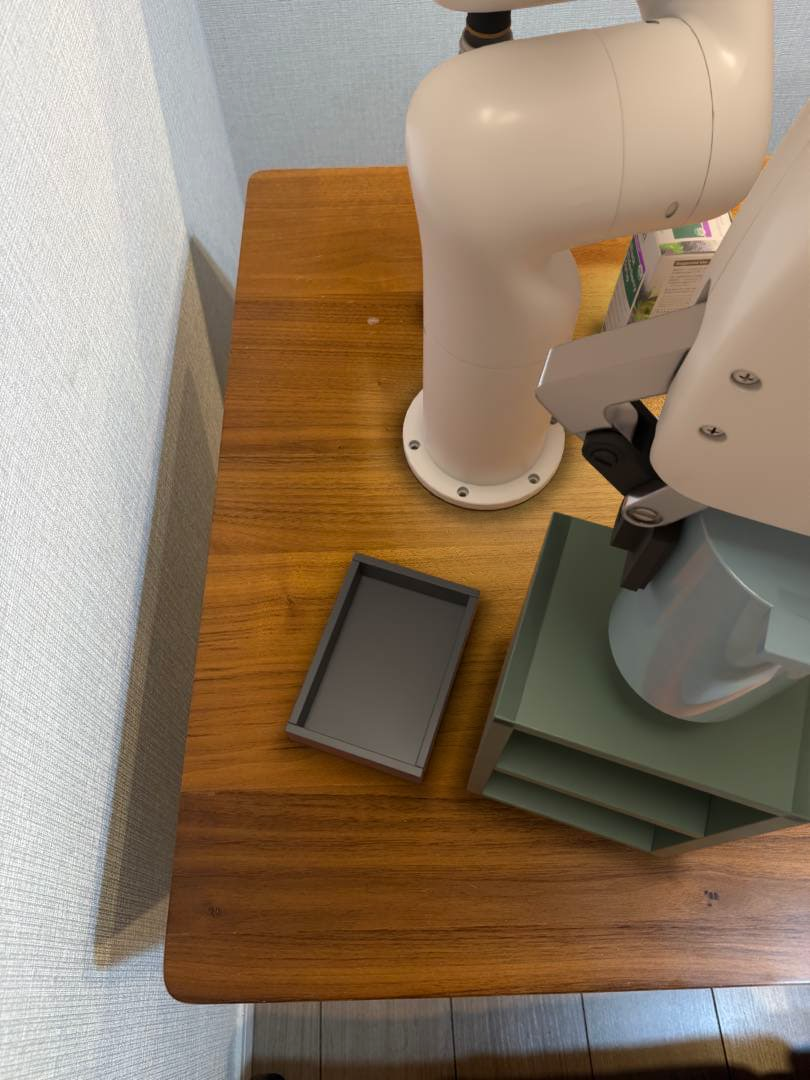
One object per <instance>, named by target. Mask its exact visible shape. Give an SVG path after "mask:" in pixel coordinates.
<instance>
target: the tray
mask: <svg viewBox="0 0 810 1080" xmlns="http://www.w3.org/2000/svg"><path fill="white" fill-rule="evenodd" d="M481 592H482V591H481V589H478V588H473V587H471V586H468V585H465V584H461V583H459V582H455V581H451V580H448V579H445V578H443V577H438V576H435V575H431V574H428V573H425V572H421V571H419V570H415V569H412V568H409V567H406V566H403V565H398V564H395V563H392V562H389V561H386V560H383V559H379V558H376V557H372V556H369V555H366V554H363V553H360V552H354V554H353V556H352V560H351V562H350V564H349V567H348V570H347V572H346V575H345V577H344V579H343V582H342V584H341V587H340V589H339V592H338V594H337V596H336V599H335V602H334V605H333V606H332V609H331V612H330V614H329V617H328V620H327V622H326V625H325V628H324V630H323V633H322V635H321V637H320V639H319V640H320V641H319V642H318V645H317V647H316V650H315V652H314V655H313V658H312V659H311V662H310V665H309V668H308V671H307V673H306V676H305V678H304V680H303V683H302V686H301V687H300V690H299V693H298V696H297V698H296V700H295V704H294V705H293V709H292V711H291V714H290V716H289V718H288V722H287V724H286V725H285V729H284V732H285V733H286V735H287V736H288V738H289V739H290V741H292V742H295V743H298V744H301V745H303V746H306V747H309V748H313V749H315V750H318V751H321V752H323V753H326V754H329V755H332V756H335V757H338V758H341V759H344V760H346V761H350V762H352V763H355V764H358V765H361V766H364V767H367V768H370V769H373V770H376V771H379V772H382V773H384V774H388V775H390V776H393V777H397V778H398V779H402V780H404V781H408V782H410V783H414V784H416V785H419V786H420V785H422V782H423V779H424V776H425V773H426V770H427V767H428V765H429V764H428V763H429V761H430V757H431V754H432V751H433V748H434V746H435V743H436V739H437V735H438V733H439V729H440V726H441V724H442V720H443V717H444V714H445V711H446V707H447V705H448V701H449V698H450V695H451V691H452V689H453V686H454V682H455V679H456V676H457V674H458V673H457V672H458V669H459V666H460V663H461V660H462V658H463V653H464V651H465V648H466V645H467V641H468V638H469V635H470V632H471V629H472V626H473V622H474V620H475V616H476V613H477V610H478V607H479V602H480V596H481Z"/></svg>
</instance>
